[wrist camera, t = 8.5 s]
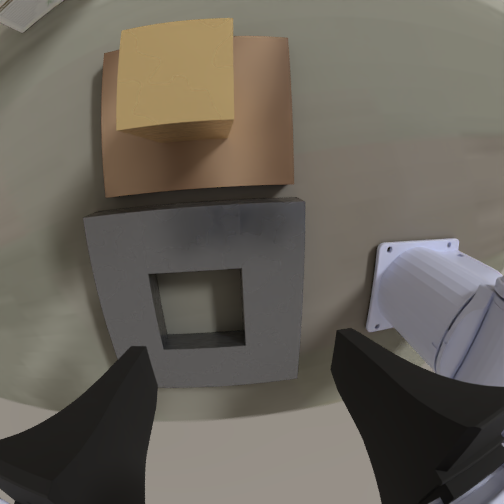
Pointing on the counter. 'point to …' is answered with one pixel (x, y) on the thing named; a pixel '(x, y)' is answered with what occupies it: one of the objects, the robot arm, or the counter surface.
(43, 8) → the syrup box
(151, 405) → the robot arm
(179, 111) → the brass peg
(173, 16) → the counter surface
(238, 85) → the walnut board
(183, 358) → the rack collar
